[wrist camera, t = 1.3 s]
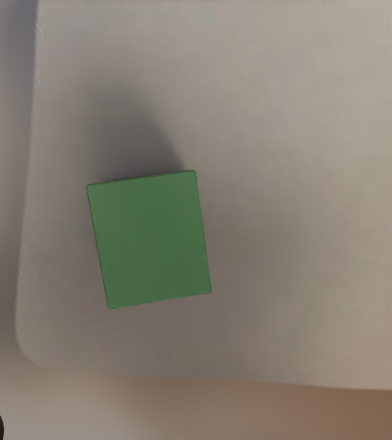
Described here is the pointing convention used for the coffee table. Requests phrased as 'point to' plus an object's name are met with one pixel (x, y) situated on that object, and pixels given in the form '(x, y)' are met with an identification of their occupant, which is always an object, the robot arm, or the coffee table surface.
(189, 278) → the container
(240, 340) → the coffee table surface
